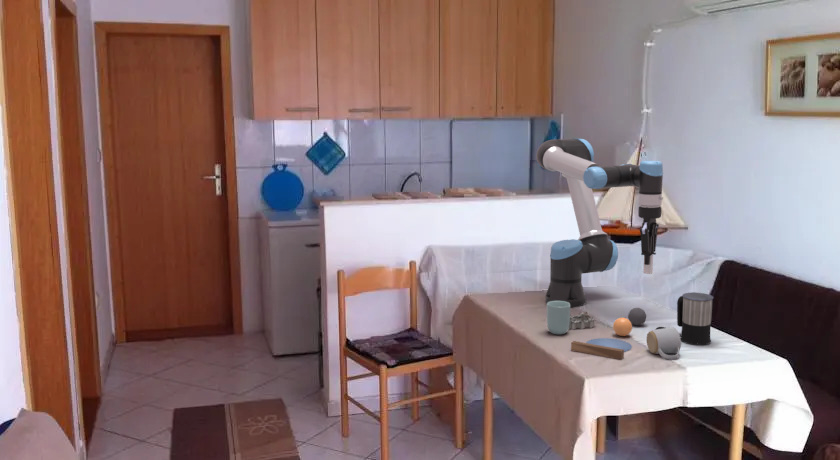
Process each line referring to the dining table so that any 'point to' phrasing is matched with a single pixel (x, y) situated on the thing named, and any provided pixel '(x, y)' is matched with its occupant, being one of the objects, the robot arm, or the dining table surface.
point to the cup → (558, 316)
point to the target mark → (611, 343)
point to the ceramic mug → (664, 342)
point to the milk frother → (694, 318)
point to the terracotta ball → (622, 326)
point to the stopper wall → (597, 350)
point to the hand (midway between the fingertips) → (647, 273)
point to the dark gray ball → (637, 316)
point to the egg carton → (581, 321)
